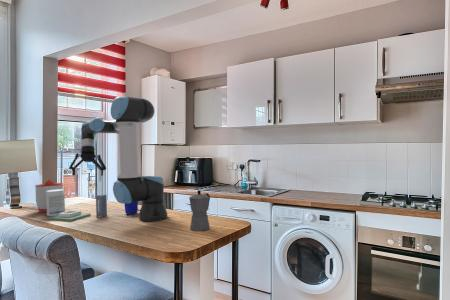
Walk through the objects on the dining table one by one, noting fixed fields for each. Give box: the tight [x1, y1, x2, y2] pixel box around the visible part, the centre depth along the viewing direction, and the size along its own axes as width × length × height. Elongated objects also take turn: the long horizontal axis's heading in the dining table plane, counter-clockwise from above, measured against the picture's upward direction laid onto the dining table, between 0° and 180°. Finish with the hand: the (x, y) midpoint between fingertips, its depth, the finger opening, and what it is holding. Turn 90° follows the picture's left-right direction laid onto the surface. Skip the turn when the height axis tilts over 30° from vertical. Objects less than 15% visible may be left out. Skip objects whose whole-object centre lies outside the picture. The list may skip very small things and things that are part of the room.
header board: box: [48, 210, 92, 222], centre depth 171 cm, size 16×14×3 cm
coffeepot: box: [188, 189, 211, 233], centre depth 142 cm, size 15×9×18 cm, turn 151°
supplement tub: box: [46, 188, 66, 217], centre depth 180 cm, size 10×10×15 cm
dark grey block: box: [95, 194, 108, 218], centre depth 174 cm, size 4×4×12 cm
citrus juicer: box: [34, 179, 64, 214], centre depth 193 cm, size 16×17×20 cm
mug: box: [124, 201, 141, 215], centre depth 178 cm, size 8×12×10 cm
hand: (88, 181), depth 177 cm, fingers open, 13 cm apart
